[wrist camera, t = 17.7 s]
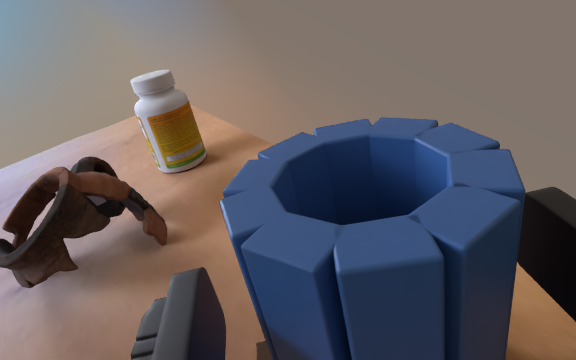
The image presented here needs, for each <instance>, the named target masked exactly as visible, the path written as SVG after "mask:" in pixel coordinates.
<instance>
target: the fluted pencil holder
mask: <svg viewBox="0 0 576 360" xmlns="http://www.w3.org/2000/svg"><path fill="white" fill-rule="evenodd" d="M499 148H500V144H499V142H498V141H496V140H493V139H491V138H488V137H486V136H483V135H481V134H478V133H476V132H473V131H471V130H468V129H466V128H463V127H461V126H458V125H455V124H453V123H448V124H445V125H442V126H439V127H438V122H437V120H427V119H404V118H380V119H379V120H378V121H377V122H375V123H374V124H373V125H371V123H370V122H369V120H368V119H362V120H357V121H352V122H346V123H341V124H336V125H331V126H325V127H320V128H316V129H314V136H313V135H310V134H307V133H304V132H302V133H299V134H297V135H295V136H293V137H291V138H289V139H287V140H285V141H283V142H280V143H279V144H276V145H274V146H272V147H270V148H268V149H265V150H263V151H261V152H259V153H258V158H259V159H258V160H249V161H247V163H246V164H245V165H244V166H243V167H242V169H241V170H240V171H239V172H238V173H237V175H236V176H235V177H234V178H233V179H232V181H231V182H230V183H229V184H228V185H227V187H226V188H225V189H224V191H223V195H224V199H222V200H220V206H221V210H222V213H223V216H224V219H225V223H226V226H227V229H228V232H229V236H230V239H231V242H232V245H233V248H234V250H235V253H236V256H237V259H238V262H239V265H240V268H241V271H242V273H243V276H244V279H245V282H246V285H247V288H248V291H249V294H250V296H251V299H252V302H253V305H254V308H255V311H256V314H257V317H258V319H259V322H260V325H261V328H262V331H263V334H264V337H265V340H266V342H267V345H268V348H269V351H270V354H271V357H272V360H505V358H506V349H507V341H508V333H509V324H510V316H511V307H512V299H513V291H514V282H515V274H516V265H517V257H518V249H519V240H520V232H521V223H522V215H523V207H524V198H525V188H524V186H523V183H522V181H521V178H520V175H519V173H518V170H517V167H516V165H515V162H514V160H513V157H512V155H511V152H510V150H508V149H499Z"/></svg>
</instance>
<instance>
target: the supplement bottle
mask: <svg viewBox="0 0 576 360" xmlns="http://www.w3.org/2000/svg"><path fill="white" fill-rule="evenodd" d="M130 82H131V85H132V87H133V90H134V92H135V94H136V95H139V97H140V100H139V101H138V102H137V103H136V104H135V107H134V110H135V113H136V116H137V119H138V121H139V123H140V126H141V128H142V130H143V133H144V135H145V138H146V140H147V142H148V145H149V147H150V150H151V152H152V155H153V157H154V159H155V162H156V164H157V166H158V168H159V170H160V171H162V172H164V173H175V172H180V171H184V170H187V169H190V168H193V167H195V166H196V165H198V164H199V163H201V162H202V161H203V160H204V159H205V157H206V150H205V147H204V144H203V141H202V139H201V136H200V133H199V130H198V127H197V124H196V121H195V118H194V115H193V112H192V109H191V106H190V104H189V101H188V98H187V96H186V94H185V93H184V92H182V91H181V90H177V89H175V88H174V84H175V82H174V78H173V76H172V73H171V71H170V70H159V71H154V72H151V73H147V74H144V75H141V76H138V77H136V78H133V79H132V80H131V81H130Z"/></svg>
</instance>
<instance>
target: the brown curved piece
mask: <svg viewBox="0 0 576 360" xmlns="http://www.w3.org/2000/svg"><path fill="white" fill-rule="evenodd" d="M57 191H58V193H57V195H56V193H55V192H57ZM55 196H56V198H55ZM53 198H55V200H54V202H53V204H52V206H51V208H50V210H49V211H48V213H47V215H46V216H45V218H44V219H43V221H42V222H41V224H40V225H39V227H38V228H37V229H36V230H35V231H34V232H33V234H32V235H31V236H30V237H29V238H28V239H27V237H28V234H29V233H30V231H31V229H32V227H33V224H34V221H35V220H36V218H37V217H38V216H39V215H40V214H41V212H42V211H43V210H44V209H45V207H46V205H47V204H48V203H49V202H50V201H51V200H52V199H53ZM125 207H127V208H128V210H130V211H131V212H132V213H133V214H134V216H135V217H136V219H137V220H138V221H143V220H145V221H144V229H143V230H144V232H145V233H146V234H148V235H150V236H154V238H155V240H156V241H157V242H158V243H159V244H160V245H164V244H165V243H166V239H167V227H166V224H165V221H164V219H163V218H162V217H161V216H160V215H159V214H158V213H157V212H156V211H155V209H154V208H153V206H152V205H150V204H149V203H148V202H147V201H146V200H144V199H143V197H142V196H141V195H140V194H139V193H138V192H136V191H135V190H134V189H133V188H132V187H130V186H129V185H128V184H127V183H126V182H124V181H120V180H119V179H118V177H117V175H116V173H115V172H114V170H113V169H112V167H111V166H110V165H109V164H108V163H107V162H105V161H103V160H101V159H99V158H97V157H84V158H82V159H81V160H79V162H78V163H76V164H75V165H74V166H73V167H72V169H71V171H69V170H68V169H67V168H65V167H56V168H54V169H52V170H50V171H48V172H47V173H45V174H44V175H42V176H41V177H39V178H38V180H37V181H35V182H34V183H33V184H32V185H31V186H30V187H29V188H28V190H27V191H26V192H25V194H24V195H23V196H22V197H21V199H20V200H19V201H18V203H17V204H16V206H15V207H14V208H13V210H12V211H11V213H10V215H9V216H8V218H7V220H6V221H5V223H4V225H3V230H5V231H7V232H10V233H13V234H14V235H15V237H14V240H13V243H12V244H11V243H9V242H8V241H7V240H5V239H0V267H2V268H7V269H10V270H12V271H13V274H14V276H15V278H16V280H17V281H18V283H19V284H20V285H21V286H23V287H27V288H32V287H34V286H35V285H36V284H39V283H41V282H43V281H45V280H47V279H48V277H50V276H51V275H52V274H54V273H56V272H59V271H73V270H77V269H78V267H77V266H76V265H75V264H74V263H73V261H72V260H71V258H70V256H69V253H68V250H67V248H66V246H65V243H64V240H63V238H80V237H83V236H85V235H87V234H90V233H92V232H97V231H100V230H102V229H104V228H105V227H106V226H107V225H108V224H109V223H110V218H111V217H114V216H119V215H121V214H122V212H123V211H124V209H125Z"/></svg>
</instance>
